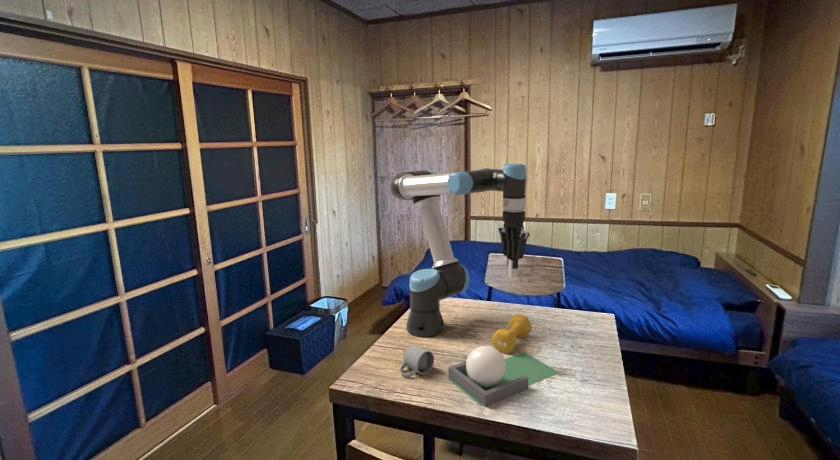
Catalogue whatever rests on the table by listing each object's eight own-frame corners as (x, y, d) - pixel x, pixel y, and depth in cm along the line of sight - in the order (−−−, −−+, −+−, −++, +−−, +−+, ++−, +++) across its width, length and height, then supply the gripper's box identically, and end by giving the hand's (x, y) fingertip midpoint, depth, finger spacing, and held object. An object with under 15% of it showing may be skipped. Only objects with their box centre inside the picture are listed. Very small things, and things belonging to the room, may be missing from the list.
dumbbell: (513, 358, 147) (513, 335, 145) (489, 351, 152) (489, 329, 150) (533, 337, 162) (534, 316, 160) (511, 331, 167) (511, 311, 165)
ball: (492, 342, 138) (479, 377, 138) (466, 336, 131) (452, 373, 131) (519, 358, 128) (505, 396, 128) (492, 353, 121) (478, 393, 121)
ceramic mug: (418, 360, 146) (417, 340, 145) (435, 369, 141) (434, 348, 139) (394, 373, 139) (393, 351, 138) (411, 382, 133) (410, 360, 132)
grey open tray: (448, 377, 135) (448, 367, 134) (489, 362, 143) (489, 353, 143) (484, 406, 120) (484, 395, 119) (528, 388, 128) (528, 377, 127)
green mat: (448, 380, 134) (448, 379, 134) (524, 353, 150) (524, 352, 150) (480, 406, 120) (480, 405, 120) (559, 373, 136) (559, 372, 136)
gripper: (492, 208, 148) (492, 274, 153) (519, 213, 137) (517, 284, 142) (509, 206, 152) (507, 270, 156) (536, 211, 141) (534, 279, 145)
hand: (512, 276), depth 149 cm, fingers closed
